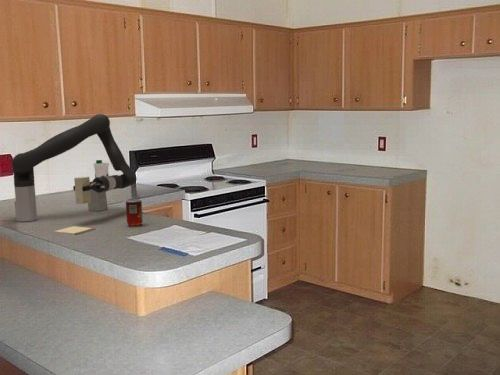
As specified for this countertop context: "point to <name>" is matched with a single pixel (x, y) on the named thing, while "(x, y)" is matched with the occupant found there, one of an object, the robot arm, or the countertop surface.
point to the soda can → (134, 212)
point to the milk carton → (101, 169)
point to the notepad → (75, 230)
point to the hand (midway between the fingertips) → (78, 188)
